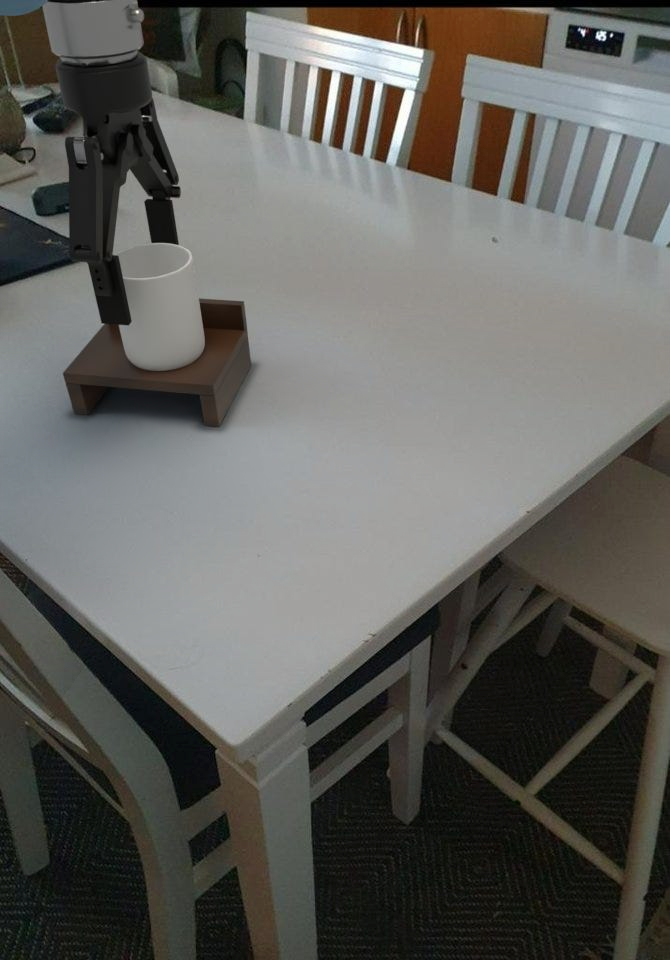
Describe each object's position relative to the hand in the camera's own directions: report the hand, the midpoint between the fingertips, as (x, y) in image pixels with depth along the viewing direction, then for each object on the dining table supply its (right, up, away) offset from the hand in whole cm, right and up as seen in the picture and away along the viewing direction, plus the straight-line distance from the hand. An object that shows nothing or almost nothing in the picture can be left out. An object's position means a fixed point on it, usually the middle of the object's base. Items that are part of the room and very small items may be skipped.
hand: (144, 290), depth 81 cm
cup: (0, -5, +5) cm, 7 cm away
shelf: (+1, -9, +8) cm, 12 cm away
